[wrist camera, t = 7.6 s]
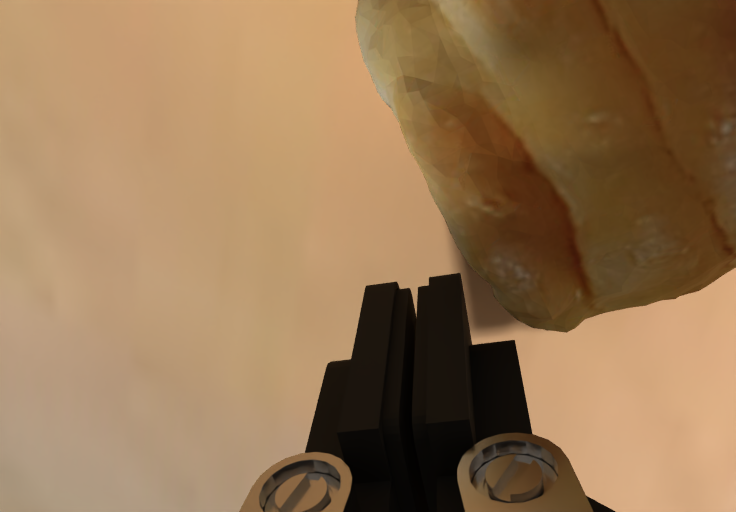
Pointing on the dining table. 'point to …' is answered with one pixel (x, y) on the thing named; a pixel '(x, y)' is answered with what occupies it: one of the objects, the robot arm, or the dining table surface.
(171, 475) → the dining table surface
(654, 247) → the pastry
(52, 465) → the dining table surface
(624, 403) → the dining table surface
